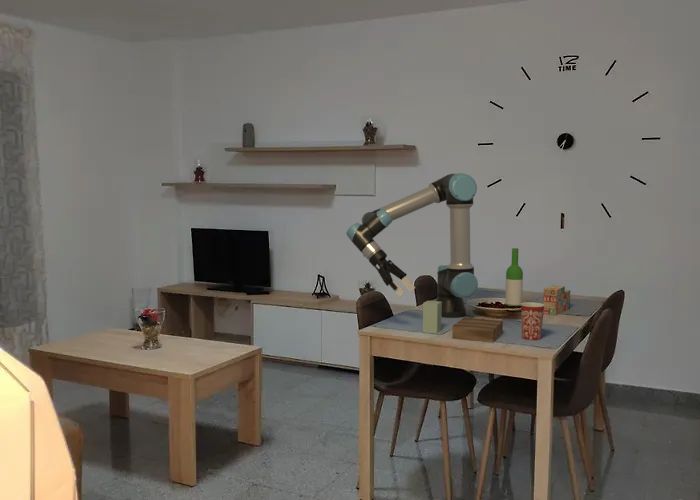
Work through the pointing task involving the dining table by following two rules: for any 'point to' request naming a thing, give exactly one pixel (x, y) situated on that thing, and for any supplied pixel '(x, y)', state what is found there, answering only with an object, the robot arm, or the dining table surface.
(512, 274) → the wine bottle
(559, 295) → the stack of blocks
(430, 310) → the green block
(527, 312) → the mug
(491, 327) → the walnut riser
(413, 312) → the dining table surface
